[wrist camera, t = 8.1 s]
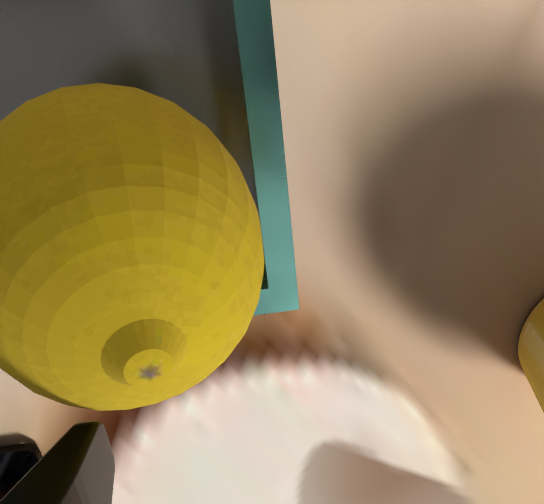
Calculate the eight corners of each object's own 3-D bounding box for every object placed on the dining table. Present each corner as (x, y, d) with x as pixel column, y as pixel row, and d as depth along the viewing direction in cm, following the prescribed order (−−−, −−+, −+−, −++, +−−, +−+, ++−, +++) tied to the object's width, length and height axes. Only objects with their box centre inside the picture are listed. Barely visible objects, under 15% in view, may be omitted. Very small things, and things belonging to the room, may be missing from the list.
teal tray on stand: (278, 226, 20) (299, 309, 15) (32, 258, 20) (-41, 354, 15) (248, -55, 16) (261, -87, 11) (-61, -20, 16) (-214, -35, 10)
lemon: (-56, 222, 13) (-149, 511, 6) (17, 2, 11) (-10, 97, 5) (153, 277, 16) (232, 512, 9) (235, 108, 14) (400, 256, 8)
